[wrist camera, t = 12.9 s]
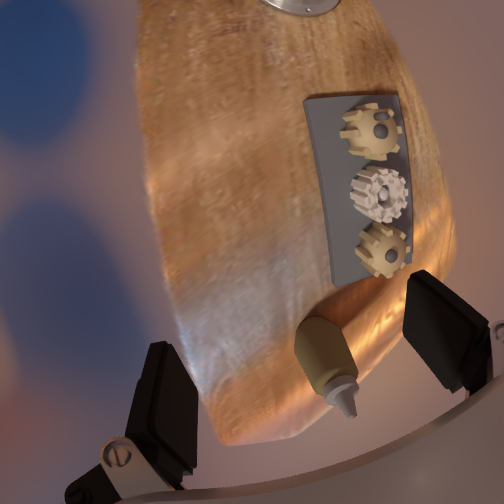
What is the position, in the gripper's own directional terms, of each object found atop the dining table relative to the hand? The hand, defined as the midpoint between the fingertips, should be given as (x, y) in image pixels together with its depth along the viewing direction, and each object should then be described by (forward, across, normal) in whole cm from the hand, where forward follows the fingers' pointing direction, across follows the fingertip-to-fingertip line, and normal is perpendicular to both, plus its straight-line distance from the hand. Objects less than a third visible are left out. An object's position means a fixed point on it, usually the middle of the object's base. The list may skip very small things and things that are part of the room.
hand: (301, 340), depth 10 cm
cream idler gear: (+25, -17, +2) cm, 30 cm away
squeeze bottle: (+26, -6, +23) cm, 36 cm away
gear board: (+26, -17, +2) cm, 31 cm away
